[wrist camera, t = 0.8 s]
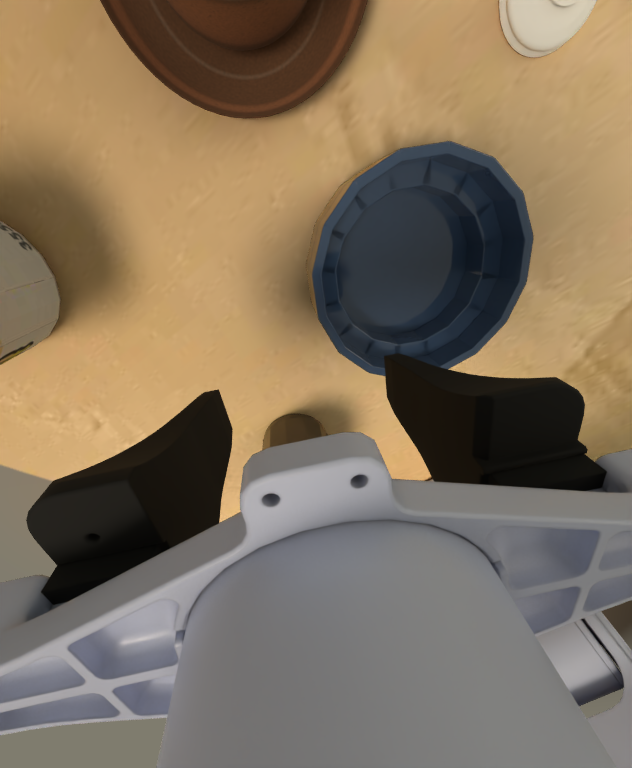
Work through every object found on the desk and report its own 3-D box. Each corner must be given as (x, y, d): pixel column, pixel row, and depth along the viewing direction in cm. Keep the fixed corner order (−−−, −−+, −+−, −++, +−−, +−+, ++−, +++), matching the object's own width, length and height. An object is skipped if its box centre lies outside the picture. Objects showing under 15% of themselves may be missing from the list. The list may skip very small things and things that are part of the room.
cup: (337, 446, 28) (355, 511, 22) (286, 474, 29) (289, 544, 23) (305, 402, 26) (315, 461, 20) (250, 434, 27) (243, 500, 20)
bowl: (504, 295, 24) (551, 312, 20) (358, 379, 25) (374, 410, 21) (449, 110, 18) (498, 81, 14) (269, 233, 20) (268, 237, 16)
